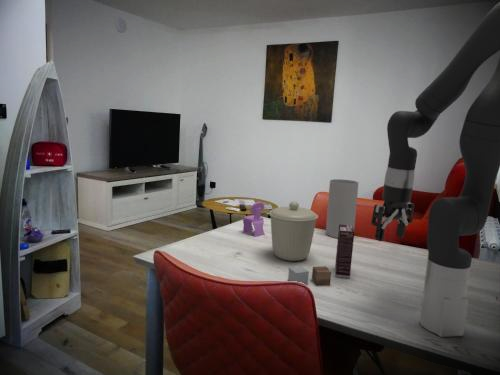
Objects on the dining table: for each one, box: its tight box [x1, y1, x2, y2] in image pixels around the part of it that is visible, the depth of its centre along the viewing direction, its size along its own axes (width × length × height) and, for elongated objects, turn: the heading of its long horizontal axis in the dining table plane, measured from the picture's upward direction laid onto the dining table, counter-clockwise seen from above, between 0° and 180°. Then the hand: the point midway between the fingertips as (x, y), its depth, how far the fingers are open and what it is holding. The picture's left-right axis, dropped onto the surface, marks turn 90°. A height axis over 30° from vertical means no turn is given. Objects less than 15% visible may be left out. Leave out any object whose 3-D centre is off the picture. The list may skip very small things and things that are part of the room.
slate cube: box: [287, 265, 310, 286], centre depth 113 cm, size 4×4×4 cm
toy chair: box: [242, 201, 266, 238], centre depth 162 cm, size 8×9×15 cm
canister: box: [268, 201, 319, 262], centre depth 134 cm, size 18×18×21 cm
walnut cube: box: [311, 265, 332, 287], centre depth 114 cm, size 4×4×4 cm
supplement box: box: [334, 224, 355, 279], centre depth 121 cm, size 9×5×16 cm, turn 168°
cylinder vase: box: [325, 178, 359, 239], centre depth 164 cm, size 12×12×25 cm
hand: (389, 238), depth 105 cm, fingers open, 8 cm apart
